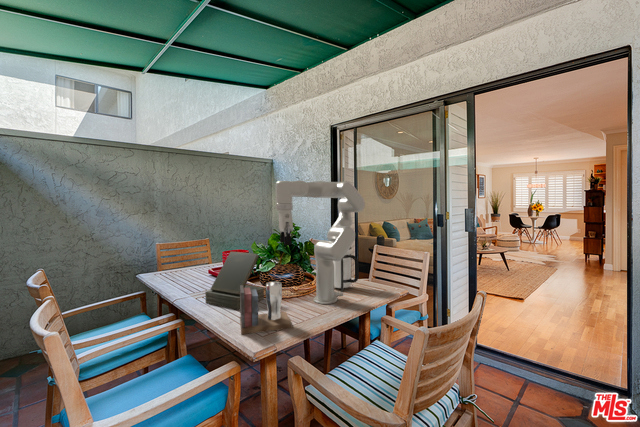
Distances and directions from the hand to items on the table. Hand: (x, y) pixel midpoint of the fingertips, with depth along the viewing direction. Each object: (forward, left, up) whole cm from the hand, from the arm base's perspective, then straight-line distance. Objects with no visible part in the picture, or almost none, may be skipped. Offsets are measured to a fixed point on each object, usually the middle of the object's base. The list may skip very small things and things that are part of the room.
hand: (285, 243), depth 140 cm
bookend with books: (+12, +13, -32) cm, 37 cm away
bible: (+23, -24, -33) cm, 47 cm away
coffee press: (-39, -27, -33) cm, 58 cm away
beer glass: (+8, +12, -30) cm, 34 cm away
